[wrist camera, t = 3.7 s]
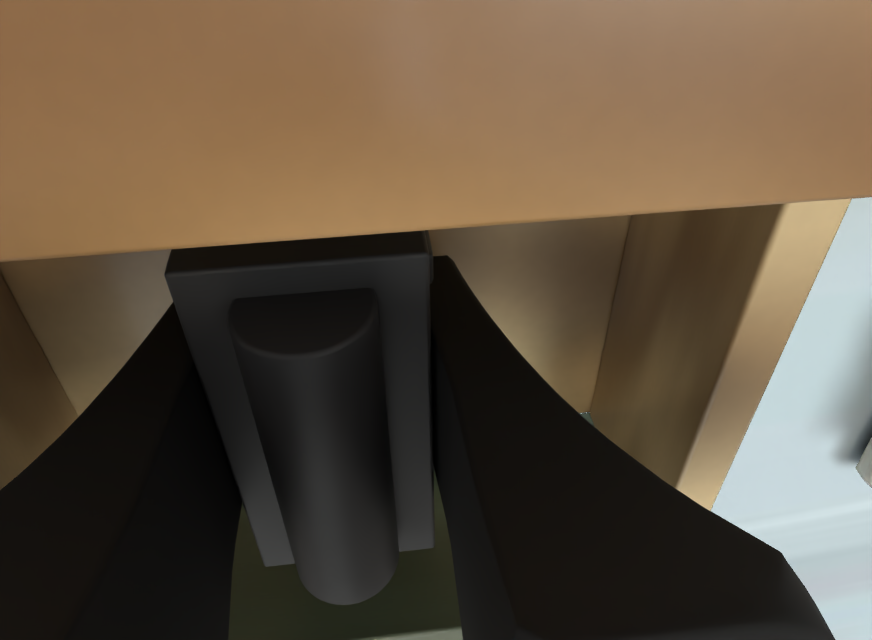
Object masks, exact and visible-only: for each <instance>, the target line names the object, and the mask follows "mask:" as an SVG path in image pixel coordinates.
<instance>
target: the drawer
mask: <svg viewBox="0 0 872 640" xmlns="http://www.w3.org/2000/svg"><path fill="white" fill-rule="evenodd" d="M850 202H851V199H838V200H825V201H811V202H798V203H785V204H771V205H758V206H745V207H731V208H718V209H704V210H691V211H678V212H664V213H651V214H637V215H624V216H611V217H597V218H584V219H571V220H557V221H544V222H530V223H517V224H504V225H490V226H477V227H463V228H450V229H437V230H428V232H429V237H430V242H431V247H432V252H433V256H444V255H448V256H449V257H450V258H451V259H452V260H453V261H454V262H455V264H456V266H457V268H458V269H459V271H460V273H461V274H462V276H463V278H464V279H465V281H466V282H467V284H468V286H469V287H470V289H471V290H472V292H473V293H474V294H475V296H476V297H477V299H478V300H479V302H480V303H481V305H482V306H483V307H484V309H485V310H486V311H487V313H488V314H489V315H490V317H491V318H492V319H493V321H494V322H495V323H496V324H497V326H498V327H499V328H500V329H501V331H502V332H503V333H504V334H505V336H506V337H507V338H508V339H509V341H510V342H511V343H512V344H513V345H514V347H515V348H516V349H517V350H518V351H519V352H520V354H521V355H522V356H523V357H524V358H525V359H526V360H527V361H528V363H529V364H530V365H531V366H532V367H533V368H534V369H535V370H536V371H537V372H538V374H539V375H540V376H541V377H542V378H543V379H544V380H545V381H546V382H547V383H548V384H549V385H550V386H551V387H552V388H553V389H554V390H555V391H556V392H557V393H558V394H559V395H560V396H561V397H562V398H563V399H564V400H565V401H566V402H567V403H569V404H570V405H571V406H572V407H573V408H574V409H575V410H576V411H577V412H578V413H585V412H590V413H585V414H580V415H581V416H583V417H584V418H585V419H586V420H587V421H588V422H590V423H591V424H592V425H593V426H594V427H595V428H597V429H598V430H599V431H600V432H601V433H602V434H604V435H605V436H606V437H607V438H608V439H609V440H611V441H612V442H613V443H614V444H616V445H617V446H618V447H620V448H621V449H622V450H624V451H625V452H626V453H628V454H629V455H630V456H632V457H633V458H634V459H636V460H637V461H638V462H640V463H641V464H642V465H644V466H645V467H646V468H648V469H649V470H650V471H652V472H653V473H654V474H656V475H657V476H658V477H660V478H661V479H662V480H664V481H665V482H667V483H668V484H670V485H671V486H673V487H674V488H676V489H677V490H679V491H680V492H682V493H683V494H685V495H686V496H688V497H689V498H691V499H692V500H694V501H695V502H697V503H698V504H700V505H701V506H703V507H704V508H706V509H708V510H709V511H711V508H712V506H713V504H714V502H715V500H716V497H717V495H718V493H719V491H720V489H721V486H722V484H723V482H724V480H725V478H726V475H727V473H728V471H729V469H730V467H731V464H732V462H733V460H734V458H735V455H736V453H737V451H738V449H739V447H740V444H741V442H742V440H743V438H744V436H745V433H746V431H747V429H748V427H749V425H750V422H751V420H752V418H753V416H754V414H755V411H756V409H757V407H758V405H759V403H760V400H761V398H762V396H763V394H764V391H765V389H766V387H767V385H768V383H769V380H770V378H771V376H772V374H773V372H774V369H775V367H776V365H777V363H778V361H779V358H780V356H781V354H782V352H783V350H784V347H785V345H786V343H787V341H788V338H789V336H790V334H791V332H792V330H793V327H794V325H795V323H796V321H797V319H798V316H799V314H800V312H801V310H802V308H803V305H804V303H805V301H806V299H807V297H808V294H809V292H810V290H811V288H812V286H813V283H814V281H815V279H816V277H817V274H818V272H819V270H820V268H821V266H822V263H823V261H824V259H825V257H826V255H827V252H828V250H829V248H830V246H831V244H832V241H833V239H834V237H835V235H836V233H837V230H838V228H839V226H840V224H841V221H842V219H843V217H844V215H845V213H846V210H847V208H848V206H849V204H850ZM170 252H171V249H169V250H156V251H142V252H129V253H116V254H102V255H89V256H75V257H62V258H49V259H35V260H22V261H8V262H0V490H1V489H2V488H3V487H5V486H6V485H7V484H8V483H9V482H11V481H12V480H13V479H14V478H15V477H17V476H18V475H19V474H20V473H21V472H22V471H23V470H24V469H26V468H27V467H28V466H29V465H30V464H31V463H32V462H33V461H34V460H35V459H36V458H37V457H38V456H39V455H41V454H42V453H43V452H44V451H45V450H46V449H47V448H48V447H49V446H50V445H51V444H52V443H53V442H54V441H55V440H56V439H57V438H58V437H59V436H60V435H61V434H62V433H63V432H64V431H65V430H66V429H67V428H68V427H69V426H70V425H71V424H72V423H73V422H74V421H75V420H76V419H77V418H78V417H79V416H80V415H81V414H82V413H83V411H84V410H85V409H86V408H87V407H88V406H89V405H90V404H91V402H92V401H93V400H94V399H95V398H96V397H97V396H98V395H99V393H100V392H101V391H102V390H103V389H104V388H105V387H106V386H107V384H108V383H109V382H110V381H111V380H112V379H113V378H114V377H115V375H116V374H117V373H118V372H119V371H120V369H121V368H122V367H123V366H124V365H125V363H126V362H127V361H128V360H129V358H130V357H131V356H132V355H133V353H134V352H135V351H136V350H137V348H138V347H139V346H140V345H141V343H142V342H143V341H144V340H145V338H146V337H147V336H148V334H149V333H150V332H151V331H152V329H153V328H154V327H155V325H156V324H157V323H158V321H159V320H160V319H161V317H162V316H163V315H164V313H165V312H166V311H167V309H168V308H169V307H170V305H171V304H172V303H173V299H172V297H171V294H170V291H169V288H168V285H167V282H166V279H165V276H164V273H165V269H166V266H167V262H168V259H169V256H170ZM434 514H435V546H434V547H433V548H428V549H419V550H411V551H402V552H399V560H398V564H397V568H396V570H395V573H394V575H393V576H392V578H391V580H390V581H389V582H388V584H387V585H386V586H385V587H384V588H383V589H382V590H381V591H380V592H378V593H377V594H376V595H374V596H373V597H371V598H369V599H367V600H365V601H362V602H359V603H356V604H350V605H336V604H331V603H327V602H325V601H322V600H320V599H318V598H316V597H315V596H314V595H312V594H311V593H310V592H309V591H308V590H307V589H306V588H305V586H304V585H303V584H302V582H301V580H300V577H299V575H298V571H297V568H296V564H287V565H278V566H269V567H266V566H264V564H263V561H262V558H261V555H260V552H259V549H258V546H257V543H256V540H255V537H254V535H253V532H252V529H251V526H250V523H249V520H248V517H247V514H246V511H245V508H244V506H243V503H242V507H241V513H240V519H239V525H238V532H237V538H236V544H235V552H234V561H233V569H232V584H231V601H230V618H229V636H228V640H463V636H462V628H461V620H460V612H459V604H458V596H457V589H456V581H455V573H454V566H453V558H452V551H451V544H450V538H449V533H448V528H447V522H446V517H445V513H444V509H443V504H442V500H441V495H440V491H439V487H438V482H437V478H436V474H435V470H434Z"/></svg>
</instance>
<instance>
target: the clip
mask: <svg viewBox="0 0 872 640" xmlns="http://www.w3.org/2000/svg"><path fill="white" fill-rule="evenodd" d="M164 276H165V279H166V282H167V285H168V288H169V291H170V294H171V297H172V299H173V302H174V305H175V308H176V311H177V314H178V317H179V320H180V323H181V326H182V328H183V331H184V334H185V337H186V340H187V343H188V346H189V349H190V352H191V355H192V358H193V360H194V363H195V366H196V369H197V372H198V375H199V378H200V381H201V384H202V387H203V389H204V392H205V395H206V398H207V401H208V404H209V407H210V410H211V413H212V416H213V418H214V421H215V424H216V427H217V430H218V433H219V436H220V439H221V442H222V445H223V447H224V450H225V453H226V456H227V459H228V462H229V465H230V468H231V471H232V474H233V477H234V479H235V482H236V485H237V488H238V491H239V494H240V497H241V500H242V503H243V506H244V508H245V511H246V514H247V517H248V520H249V523H250V526H251V529H252V532H253V535H254V537H255V540H256V543H257V546H258V549H259V552H260V555H261V558H262V561H263V564H264V566H266V567H269V566H278V565H287V564H296V568H297V571H298V575H299V577H300V580H301V582H302V584H303V585H304V586H305V588H306V589H307V590H308V591H309V592H310V593H311V594H312V595H314V596H315V597H316V598H318V599H320V600H322V601H325V602H327V603H331V604H336V605H350V604H356V603H359V602H362V601H365V600H367V599H369V598H371V597H373V596H374V595H376V594H377V593H378V592H380V591H381V590H382V589H383V588H384V587H385V586H386V585H387V584H388V582H389V581H390V580H391V578H392V576H393V575H394V573H395V570H396V568H397V564H398V560H399V552H402V551H411V550H419V549H428V548H433V547H434V546H435V514H434V470H435V469H434V465H433V416H432V367H431V318H430V284H431V283H432V282H433V279H434V273H433V252H432V247H431V242H430V237H429V232H428V230H423V231H410V232H397V233H383V234H370V235H356V236H343V237H330V238H316V239H303V240H289V241H276V242H263V243H249V244H236V245H223V246H209V247H196V248H182V249H171V252H170V256H169V259H168V262H167V266H166V269H165V273H164Z"/></svg>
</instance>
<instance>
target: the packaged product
mask: <svg viewBox="0 0 872 640" xmlns="http://www.w3.org/2000/svg"><path fill="white" fill-rule="evenodd" d="M856 470H857V471H858V473H859V474H860V476H861V477H862V479H863V480H864V481H865V482H866V483H867V484H868V485H869V486H870V487H871V488H872V437H871V439H870V441H869V443H868V445H867V447H866V449H865V451H864V453H863V454H862V456H861V458H860V460H859V462H858V464H857V466H856Z"/></svg>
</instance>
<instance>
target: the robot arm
mask: <svg viewBox="0 0 872 640" xmlns="http://www.w3.org/2000/svg"><path fill="white" fill-rule="evenodd" d="M433 273H434V279H433V282H432V283H431V284H430V318H431V367H432V416H433V465H434V469H435V474H436V478H437V482H438V487H439V491H440V495H441V500H442V504H443V509H444V513H445V517H446V522H447V528H448V533H449V538H450V544H451V551H452V558H453V566H454V573H455V581H456V589H457V596H458V604H459V612H460V620H461V628H462V636H463V640H835V638H834V636H833V635H832V633H831V631H830V629H829V627H828V626H827V624H826V622H825V620H824V618H823V616H822V615H821V613H820V611H819V609H818V607H817V606H816V604H815V602H814V601H813V599H812V597H811V596H810V594H809V593H808V591H807V589H806V588H805V586H804V585H803V583H802V582H801V581H800V579H799V578H798V576H797V575H796V574H795V572H794V571H793V569H792V568H791V567H790V565H789V564H788V562H787V561H786V559H785V558H784V556H783V554H782V553H781V552H780V551H778V550H776V549H775V548H773V547H771V546H769V545H768V544H766V543H764V542H763V541H761V540H759V539H757V538H756V537H754V536H752V535H751V534H749V533H747V532H745V531H744V530H742V529H740V528H739V527H737V526H735V525H733V524H732V523H730V522H728V521H726V520H725V519H723V518H721V517H720V516H718V515H716V514H714V513H713V512H711V511H709V510H708V509H706V508H704V507H703V506H701V505H700V504H698V503H697V502H695V501H694V500H692V499H691V498H689V497H688V496H686V495H685V494H683V493H682V492H680V491H679V490H677V489H676V488H674V487H673V486H671V485H670V484H668V483H667V482H665V481H664V480H662V479H661V478H660V477H658V476H657V475H656V474H654V473H653V472H652V471H650V470H649V469H648V468H646V467H645V466H644V465H642V464H641V463H640V462H638V461H637V460H636V459H634V458H633V457H632V456H630V455H629V454H628V453H626V452H625V451H624V450H622V449H621V448H620V447H618V446H617V445H616V444H614V443H613V442H612V441H611V440H609V439H608V438H607V437H606V436H605V435H604V434H602V433H601V432H600V431H599V430H598V429H597V428H595V427H594V426H593V425H592V424H591V423H590V422H588V421H587V420H586V419H585V418H584V417H583V416H581V415H580V414H579V413H578V412H577V411H576V410H575V409H574V408H573V407H572V406H571V405H570V404H569V403H567V402H566V401H565V400H564V399H563V398H562V397H561V396H560V395H559V394H558V393H557V392H556V391H555V390H554V389H553V388H552V387H551V386H550V385H549V384H548V383H547V382H546V381H545V380H544V379H543V378H542V377H541V376H540V375H539V374H538V372H537V371H536V370H535V369H534V368H533V367H532V366H531V365H530V364H529V363H528V361H527V360H526V359H525V358H524V357H523V356H522V355H521V354H520V352H519V351H518V350H517V349H516V348H515V347H514V345H513V344H512V343H511V342H510V341H509V339H508V338H507V337H506V336H505V334H504V333H503V332H502V331H501V329H500V328H499V327H498V326H497V324H496V323H495V322H494V321H493V319H492V318H491V317H490V315H489V314H488V313H487V311H486V310H485V309H484V307H483V306H482V305H481V303H480V302H479V300H478V299H477V297H476V296H475V294H474V293H473V292H472V290H471V289H470V287H469V286H468V284H467V282H466V281H465V279H464V278H463V276H462V274H461V273H460V271H459V269H458V268H457V266H456V264H455V262H454V261H453V260H452V259H451V258H450V257H449V256H448V255H444V256H433ZM241 507H242V500H241V497H240V494H239V491H238V488H237V485H236V482H235V479H234V477H233V474H232V471H231V468H230V465H229V462H228V459H227V456H226V453H225V450H224V447H223V445H222V442H221V439H220V436H219V433H218V430H217V427H216V424H215V421H214V418H213V416H212V413H211V410H210V407H209V404H208V401H207V398H206V395H205V392H204V389H203V387H202V384H201V381H200V378H199V375H198V372H197V369H196V366H195V363H194V360H193V358H192V355H191V352H190V349H189V346H188V343H187V340H186V337H185V334H184V331H183V328H182V326H181V323H180V320H179V317H178V314H177V311H176V308H175V305H174V302H173V303H172V304H171V305H170V307H169V308H168V309H167V311H166V312H165V313H164V315H163V316H162V317H161V319H160V320H159V321H158V323H157V324H156V325H155V327H154V328H153V329H152V331H151V332H150V333H149V334H148V336H147V337H146V338H145V340H144V341H143V342H142V343H141V345H140V346H139V347H138V348H137V350H136V351H135V352H134V353H133V355H132V356H131V357H130V358H129V360H128V361H127V362H126V363H125V365H124V366H123V367H122V368H121V369H120V371H119V372H118V373H117V374H116V375H115V377H114V378H113V379H112V380H111V381H110V382H109V383H108V384H107V386H106V387H105V388H104V389H103V390H102V391H101V392H100V393H99V395H98V396H97V397H96V398H95V399H94V400H93V401H92V402H91V404H90V405H89V406H88V407H87V408H86V409H85V410H84V411H83V413H82V414H81V415H80V416H79V417H78V418H77V419H76V420H75V421H74V422H73V423H72V424H71V425H70V426H69V427H68V428H67V429H66V430H65V431H64V432H63V433H62V434H61V435H60V436H59V437H58V438H57V439H56V440H55V441H54V442H53V443H52V444H51V445H50V446H49V447H48V448H47V449H46V450H45V451H44V452H43V453H42V454H41V455H39V456H38V457H37V458H36V459H35V460H34V461H33V462H32V463H31V464H30V465H29V466H28V467H27V468H26V469H24V470H23V471H22V472H21V473H20V474H19V475H18V476H17V477H15V478H14V479H13V480H12V481H11V482H9V483H8V484H7V485H6V486H5V487H3V488H2V489H1V490H0V640H228V636H229V618H230V601H231V584H232V569H233V561H234V552H235V544H236V538H237V532H238V525H239V519H240V513H241Z"/></svg>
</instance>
